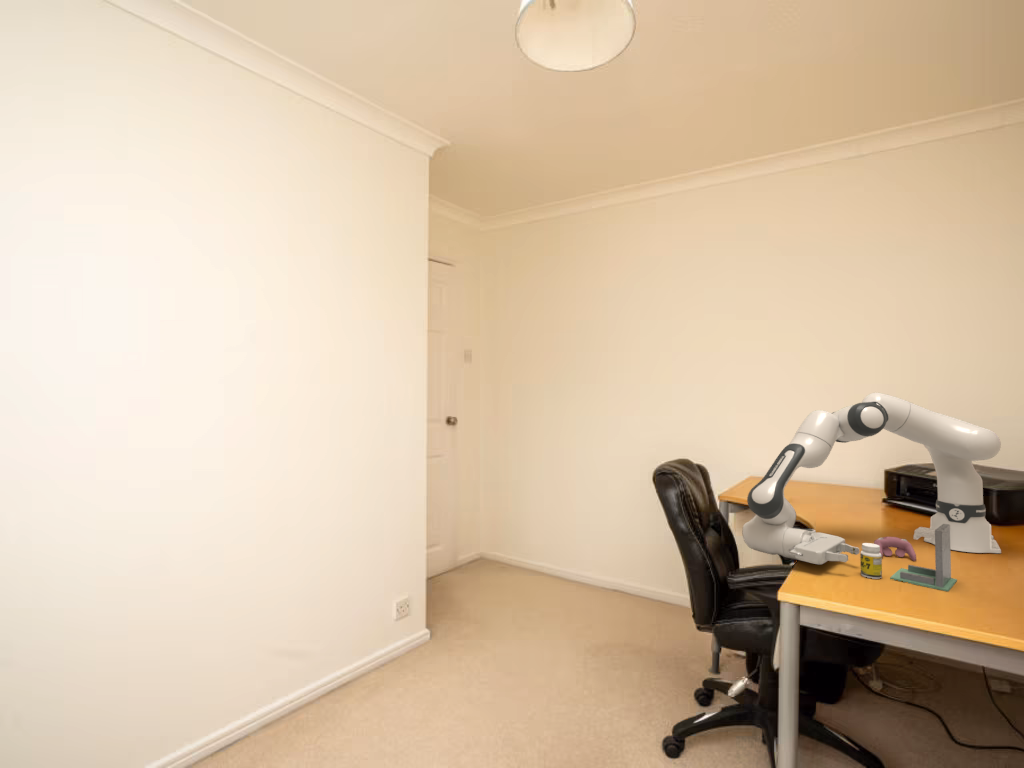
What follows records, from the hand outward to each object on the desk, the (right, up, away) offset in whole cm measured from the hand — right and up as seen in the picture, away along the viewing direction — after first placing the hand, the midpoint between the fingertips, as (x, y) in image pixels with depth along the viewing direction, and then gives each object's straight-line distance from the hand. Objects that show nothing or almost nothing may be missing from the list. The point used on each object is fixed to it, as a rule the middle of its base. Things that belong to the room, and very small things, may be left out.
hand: (853, 554), depth 146 cm
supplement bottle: (+3, -5, -3) cm, 7 cm away
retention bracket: (+14, -5, -7) cm, 16 cm away
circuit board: (+14, -5, -7) cm, 16 cm away
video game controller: (+21, -5, +13) cm, 25 cm away
